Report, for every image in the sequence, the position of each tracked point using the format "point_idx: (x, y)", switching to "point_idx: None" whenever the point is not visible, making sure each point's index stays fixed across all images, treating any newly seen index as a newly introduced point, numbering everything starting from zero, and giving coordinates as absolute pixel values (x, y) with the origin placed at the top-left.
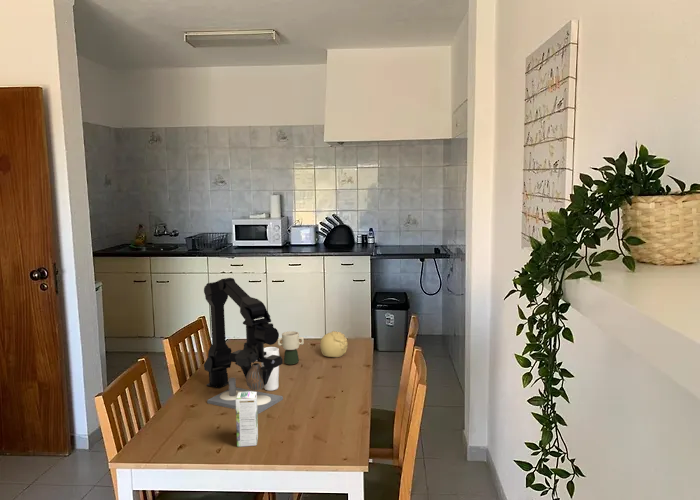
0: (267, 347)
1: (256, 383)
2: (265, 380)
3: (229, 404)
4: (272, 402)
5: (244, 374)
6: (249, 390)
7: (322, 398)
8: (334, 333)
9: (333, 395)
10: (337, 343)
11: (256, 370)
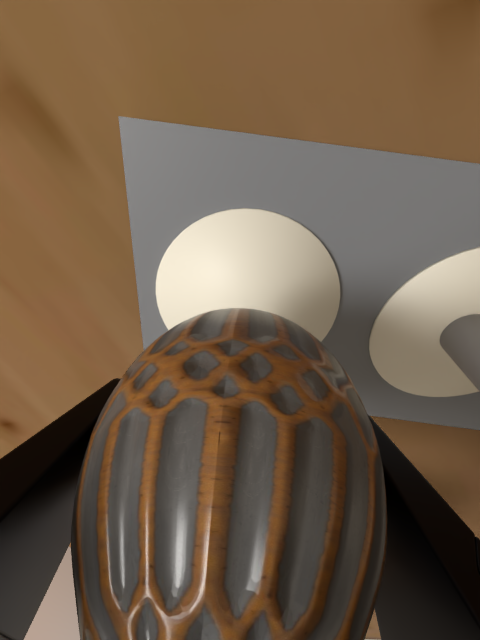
0: None
1: (156, 346)
2: (62, 418)
3: (451, 162)
4: (140, 304)
5: (439, 503)
6: (370, 410)
7: (11, 412)
8: None
9: (4, 438)
10: None
11: (110, 631)
